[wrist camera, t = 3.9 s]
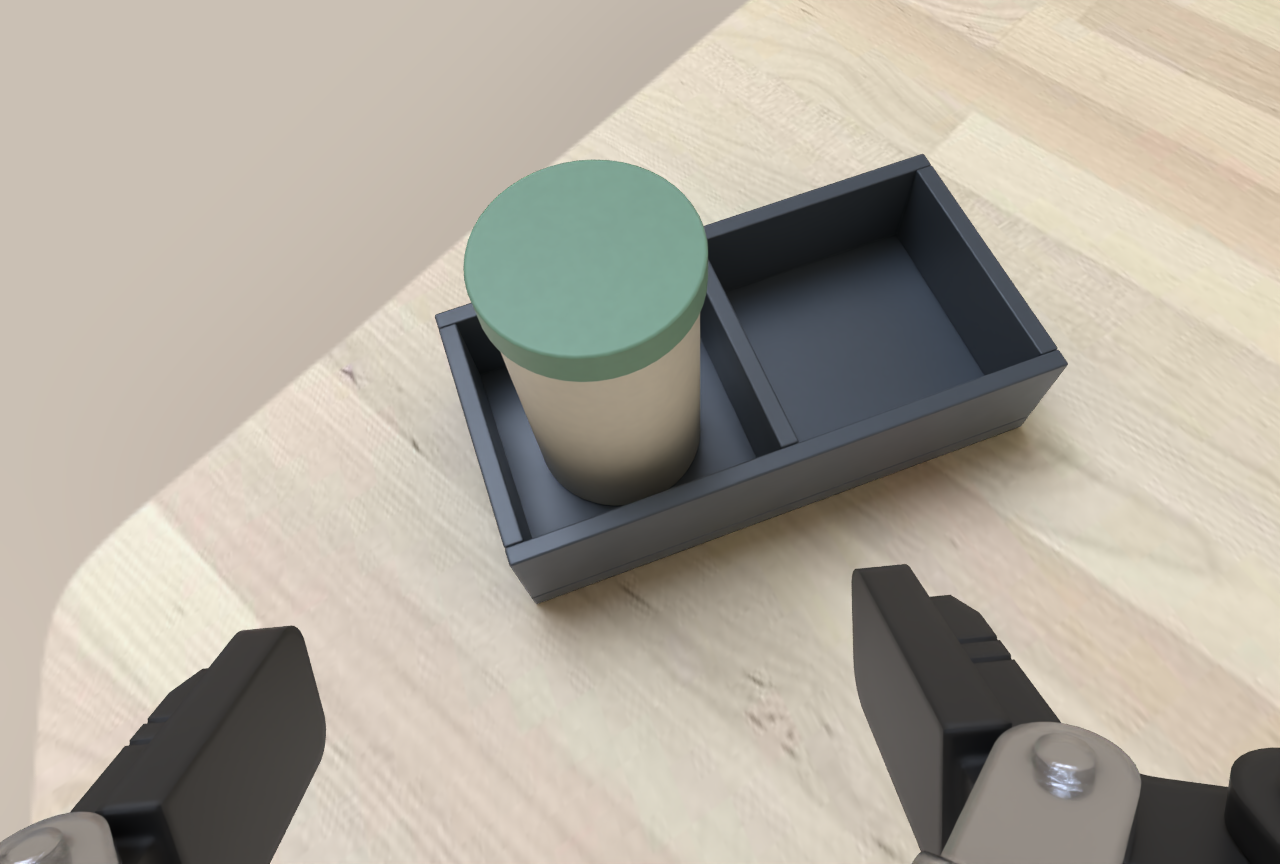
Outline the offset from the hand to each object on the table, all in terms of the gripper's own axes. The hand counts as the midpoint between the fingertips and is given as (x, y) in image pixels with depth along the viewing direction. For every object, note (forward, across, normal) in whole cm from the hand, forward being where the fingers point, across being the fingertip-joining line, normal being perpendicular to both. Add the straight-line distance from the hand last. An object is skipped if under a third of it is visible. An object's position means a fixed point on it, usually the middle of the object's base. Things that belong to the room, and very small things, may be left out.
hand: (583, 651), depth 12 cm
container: (+18, 0, -3) cm, 18 cm away
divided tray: (+19, +4, -2) cm, 19 cm away
